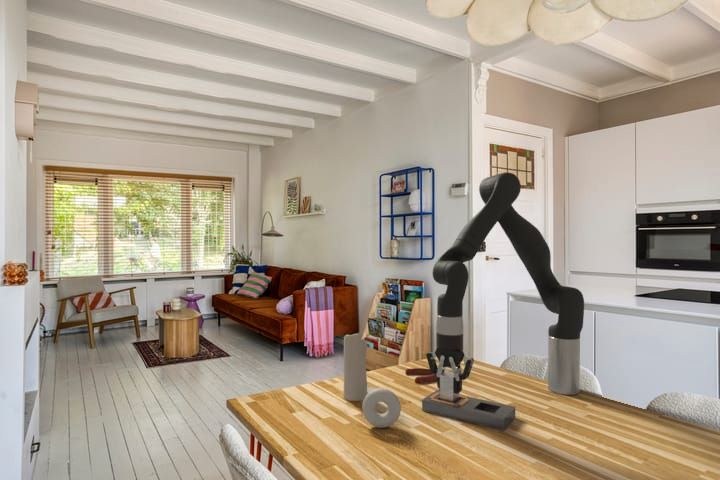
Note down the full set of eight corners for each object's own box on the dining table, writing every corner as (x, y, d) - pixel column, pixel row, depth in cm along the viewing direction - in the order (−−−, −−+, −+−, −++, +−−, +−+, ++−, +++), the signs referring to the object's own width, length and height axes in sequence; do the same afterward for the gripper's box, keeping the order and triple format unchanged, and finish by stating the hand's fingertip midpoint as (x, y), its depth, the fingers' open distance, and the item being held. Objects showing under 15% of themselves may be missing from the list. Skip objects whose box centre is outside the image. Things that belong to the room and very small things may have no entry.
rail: (437, 399, 134) (437, 389, 134) (515, 417, 121) (515, 406, 121) (422, 410, 126) (422, 399, 126) (504, 430, 113) (504, 418, 113)
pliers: (471, 380, 153) (471, 373, 153) (416, 385, 148) (416, 377, 148) (456, 371, 165) (456, 364, 165) (404, 375, 160) (404, 367, 160)
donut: (400, 425, 116) (401, 386, 116) (401, 430, 113) (401, 391, 113) (362, 423, 117) (362, 385, 117) (361, 429, 114) (361, 390, 114)
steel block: (445, 402, 130) (445, 371, 130) (458, 405, 127) (458, 373, 127) (439, 406, 126) (439, 374, 126) (453, 409, 124) (453, 377, 124)
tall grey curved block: (382, 389, 143) (382, 327, 143) (358, 403, 131) (359, 335, 131) (363, 385, 147) (363, 324, 147) (338, 398, 135) (339, 332, 135)
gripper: (478, 332, 126) (478, 392, 126) (432, 325, 134) (432, 383, 134) (469, 336, 119) (468, 400, 120) (421, 330, 128) (420, 390, 128)
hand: (449, 391), depth 127 cm, fingers open, 4 cm apart
